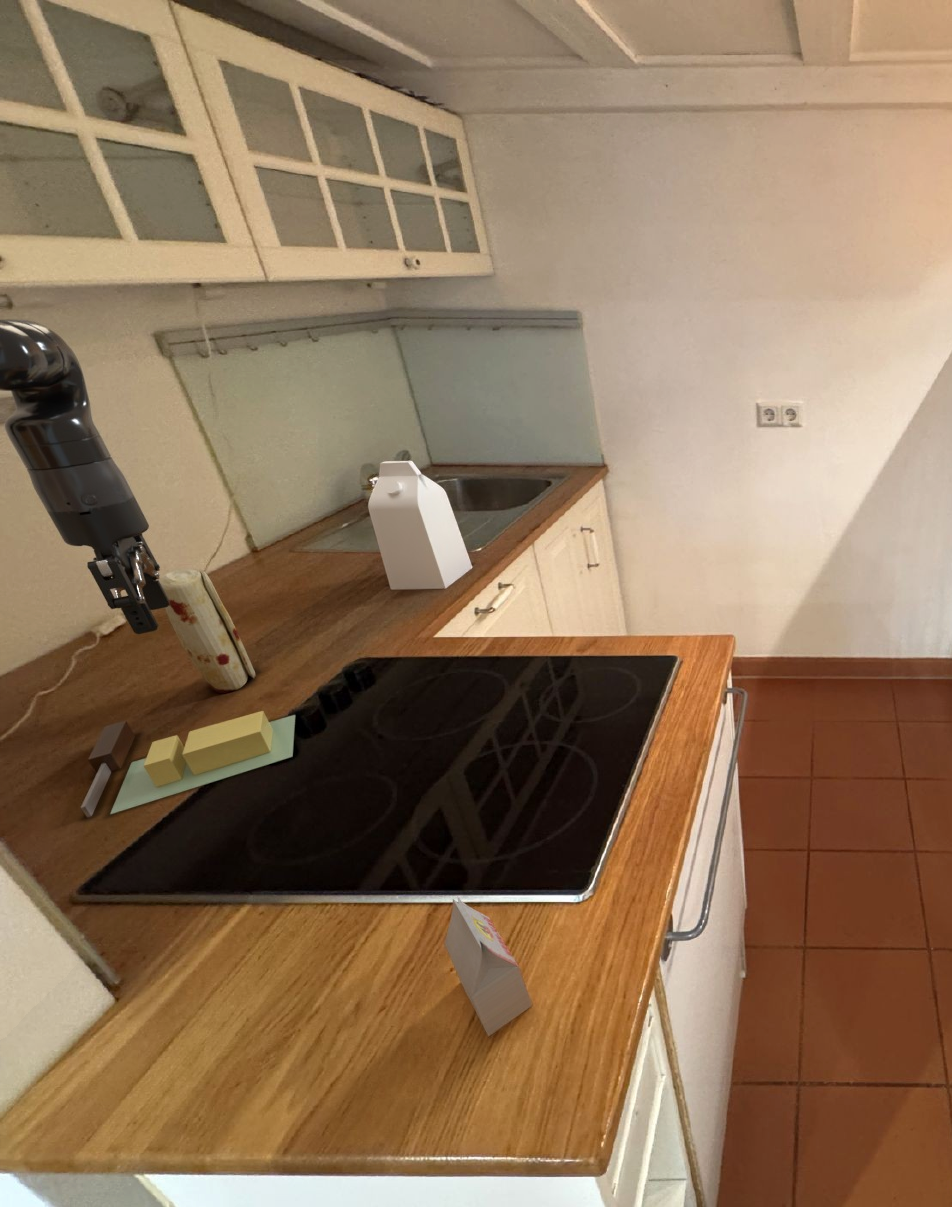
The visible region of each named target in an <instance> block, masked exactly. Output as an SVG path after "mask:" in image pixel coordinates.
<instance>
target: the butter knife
mask: <svg viewBox="0 0 952 1207" xmlns="http://www.w3.org/2000/svg"><path fill="white" fill-rule="evenodd" d="M135 737H136V735H135V733H134V731H133V730H132V728H131V726H130V725H129V722H127V720H123V721H120V722H116V723H111V724H109V725H104V727H103V729H102V731H101V733H100V735H99V736H98V739H97V740H96V743H95V744H94V747H93V748H92V750H91V753H89V754H90V755H89V756H88V758H87V761H88V763H89V764H90V766H91V767H92V769H93V770H94V771H95V773H96V774H95V776H94V779H93V781H92V783H91V785H90V786H89V789H88V791H87V793H86V795H85V798H84V800H83V801H82V804H81V806H80V809H81V811H82V812H83V813H84V815H85V816H86V818H90V817H92V816H93V815H94V812H95V810H96V807H97V805H98V803H99V800H100V798H101V797H102V794H103V791H104V790H105V787H106V785H107V783H108V781H109V779H110V776H111V774H112V772H115V771H119V770H122V767H123V765H124V763H125V760H126V758H127V756H128V754H129V751H130V749H131V747H132V744H133V742H134V739H135Z"/></svg>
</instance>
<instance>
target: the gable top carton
mask: <svg viewBox="0 0 952 1207" xmlns="http://www.w3.org/2000/svg"><path fill="white" fill-rule="evenodd" d="M456 896H457V895H456ZM456 898H457V901H456V899H454V898H452V910H451V915H450V916H451V917H450V921H449V925H448V929H447V932H446V936H445V940H444V946H445V949H446V951H447V954H448V955H449V956H448V957H449V958H450V961H451V963H452V965H453V967H454V970H455V973H456V974H457V976H458V977H457V978H458V979H459V982H460V984H461V986H462V988H463V990H464V992H465V994H466V996H467V998H468V1000H469V1002H470V1003H471V1006H472V1007H473V1009H474V1012H475V1013H476V1015H477V1017H478V1020H479V1022H480V1023H481V1026H482V1027H483V1029H484V1031H485V1033H486V1035H487V1037H490V1036H491V1035H493V1034H494V1033H496V1032H497V1031H499V1030H500V1029H502V1028H503V1027H505V1026H506V1025H507V1024H508V1023H510V1022H511V1021H513V1020H514V1019H515V1018H517V1017H518V1016H520V1015H521V1014H522V1013H524V1012H525V1011H527V1010H529V1008H531V1007H532V1006H533V1003H532V1000H531V997H530V994H529V992H528V989H527V986H526V982H525V980H524V978H523V974H522V972H521V970H520V969H521V968H520V966H519V965H518V963H517V961H516V960H515V958H514V957H513V955H512V953H511V952H510V950H509V948H508V947H507V945H506V943H505V941H504V940H503V938H502V937H501V935H500V933H499V932H498V930H497V929H496V927H495V925H494V923H493V922H492V920H491V919H490V917H489V916H487V915H485V914H484V913H482V912H480V911H478V910H476V909H475V908H472V907H470V906H469V905H468V904H466V903H465V902H464V901H462V900H461V899H460V897H459V896H457V897H456Z"/></svg>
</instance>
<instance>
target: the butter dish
mask: <svg viewBox="0 0 952 1207" xmlns="http://www.w3.org/2000/svg"><path fill="white" fill-rule="evenodd" d="M269 723H270V726H271V728H272V730H273V734H272V742H271V751H270V752H269V753H265V754H262V755H259V756H256V757H252V758H249V759H246V760H243V761H239V762H236V763H233V764H230V765H227V766H223V767H220V768H217V769H214V770H210V771H207V772H204V773H201V774H197V775H194V774H193V772H192V771H191V769H190V767H189V765H188V764H187V763H186V767H185V770H184V774H183V777H182V779H181V780H178V781H175V782H172V783H168V784H165V785H162V786H159V787H156V786H155V784H154V782H153V781H152V779H151V778H150V776H149V774H148V773H147V771H146V769H145V768H144V766H143V765H144V763H145V760H146V758H147V757H145V758H142V759H139V760H135V761H132V762H131V763H130V765H129V767H128V769H127V773H126V774H125V777H124V780H123V782H122V784H121V787H120V789H119V792H118V794H117V797H116V799H115V802H114V804H113V806H112V808H111V811H110V813H109V815H113V814H117V813H120V812H123V811H125V810H129V809H132V808H135V807H139V806H141V805H144V804H148V803H150V802H153V801H157V800H161V799H163V798H167V797H169V796H172V795H173V796H174V795H176V794H179V793H183V792H185V791H188V790H192V789H195V788H198V787H201V786H204V785H205V786H206V785H208V784H210V783H214V782H217V781H220V780H224V779H226V778H227V779H228V778H231V777H233V776H236V775H240V774H243V773H246V772H248V771H249V772H250V771H252V770H255V769H259V768H262V767H264V766H267V765H270V764H274V763H277V762H281V761H283V760H286V759H290V758H293V755H294V740H295V729H296V728H295V727H296V726H295V725H296V714H292V715H289V716H286V717H282V718H279V719H276V720H272V721H269Z"/></svg>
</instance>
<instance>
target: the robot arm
mask: <svg viewBox="0 0 952 1207" xmlns="http://www.w3.org/2000/svg"><path fill="white" fill-rule="evenodd" d="M0 391H2V392H11V395H12V398H13V402H14V406H15V410H14V411H13V413H12V414H11V415H9V416H8V417H7V418H6V419H5V421H4V423H3V424H4V430H5V432H6V435H7V437H8V439H9V441H10V442H11V444H12V446H13V447H14V449H15V451H16V453H17V455H18V456H19V458H20V460H21V462H22V463H23V466H24V468H26V471H27V474H28V475H29V478H30V481H31V484H32V486H33V488H34V491H35V492H36V494H37V496H38V498H39V500H40V501H41V503H42V506H44V508H45V510H46V512H47V514H48V515H49V518H50V519H51V521H52V522H53V524H54V527H55V528H56V529H57V532H58V533H59V535H60V536H61V539H62V540H63V542H64V543H66V544H67V545H69V546H74V547H83V546H84V547H85V546H86V547H90V548H92V550H93V553H94V555H95V557H93V558H92V561H87V563H86V564H87V566H86V568H87V569H88V570H89V572H90V573H91V575H92V577H93V579H94V581H95V583H96V584H97V586H98V588H99V590H100V592H101V594H102V595H103V598H104V599H105V602H106V603H107V606H108V607H109V609H110V610H115V609H118V610H119V609H120V610H121V612H122V614H123V616H124V617H125V619H126V621H127V623H128V624H129V626H130V628H131V630H132V631H133V633H134V634H136V635H142V634H146V633H151V632H155V631H157V630H158V628H159V624H158V622H157V620H156V618H155V615H154V614H153V612H152V611H155V610H159V609H165V607H168V606H169V604H170V601H169V599H168V597H167V595H166V594H165V592H164V590H163V588H162V586H161V584H160V582H159V579H160V577H161V575H160V573H159V571H160V570H161V569H160V568H161V567H160V565H159V564H158V561H157V560H156V558H155V556H154V554H153V553H152V550H151V549H150V547H149V545H148V543H147V541H146V539H145V537H144V536H143V534H144V533H145V532H147V531H148V530H149V529H150V524H149V522H148V521H147V520H148V519H147V518H146V516H145V514H144V513H143V510H142V509H141V507H140V504H139V503H138V501H137V499H136V496H135V495H134V492H133V491H132V489H131V487H130V485H129V483H128V481H127V478H126V477H125V475H124V474H123V472H122V471H121V469H120V468H119V466H118V465H117V464H116V462H115V461H114V458H113V457H112V455H111V453H110V451H109V448H107V445H106V444H105V441H104V440H103V438H102V436H101V434H100V432H99V430H98V429H97V427H96V425H95V423H94V421H93V417H92V410H91V402H90V397H89V394H88V393H89V392H88V389H87V384H86V380H85V376H84V372H83V369H82V367H81V364H80V362H79V360H78V358H77V356H76V353H75V352H74V351H73V349H72V348H71V346H70V345H69V344H68V343H67V341H65V339H63V338H62V336H60V335H59V334H58V333H57V332H55V331H54V330H52V329H51V328H49V327H47V326H45V325H44V324H41V323H39V322H36V321H33V320H28V319H22V318H6V319H5V318H4V319H0ZM122 591H125V593H126V594H127V595H124V596H123V595H122Z"/></svg>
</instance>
